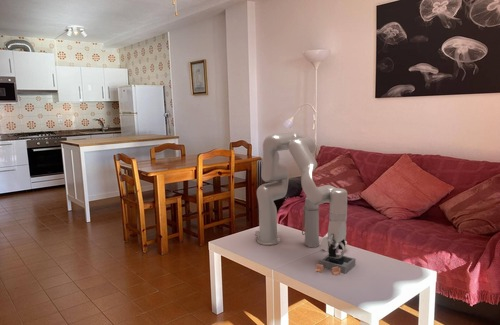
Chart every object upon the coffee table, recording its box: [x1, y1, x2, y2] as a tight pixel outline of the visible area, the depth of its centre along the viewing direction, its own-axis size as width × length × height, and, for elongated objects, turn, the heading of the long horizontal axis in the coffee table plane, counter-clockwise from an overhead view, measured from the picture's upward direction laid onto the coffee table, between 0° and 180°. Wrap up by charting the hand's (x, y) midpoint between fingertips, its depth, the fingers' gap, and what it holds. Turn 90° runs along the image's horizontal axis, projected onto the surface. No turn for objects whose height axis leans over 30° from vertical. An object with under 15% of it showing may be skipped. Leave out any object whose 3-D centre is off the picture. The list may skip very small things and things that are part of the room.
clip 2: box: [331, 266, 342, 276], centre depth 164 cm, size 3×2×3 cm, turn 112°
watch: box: [327, 242, 346, 265], centre depth 171 cm, size 6×8×11 cm
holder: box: [319, 253, 356, 274], centre depth 172 cm, size 12×11×3 cm
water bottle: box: [301, 196, 320, 248], centre depth 196 cm, size 9×8×25 cm
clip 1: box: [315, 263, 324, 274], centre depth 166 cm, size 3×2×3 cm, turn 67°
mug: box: [320, 232, 348, 253], centre depth 191 cm, size 12×10×8 cm
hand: (337, 252), depth 171 cm, fingers open, 9 cm apart
